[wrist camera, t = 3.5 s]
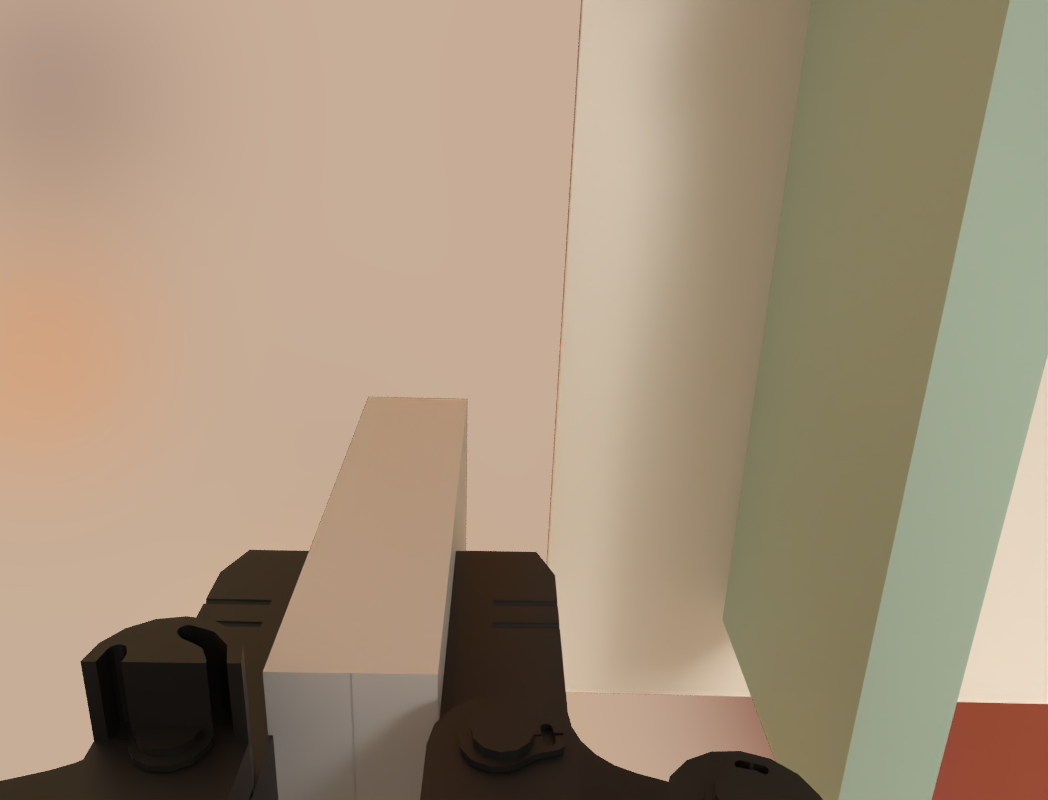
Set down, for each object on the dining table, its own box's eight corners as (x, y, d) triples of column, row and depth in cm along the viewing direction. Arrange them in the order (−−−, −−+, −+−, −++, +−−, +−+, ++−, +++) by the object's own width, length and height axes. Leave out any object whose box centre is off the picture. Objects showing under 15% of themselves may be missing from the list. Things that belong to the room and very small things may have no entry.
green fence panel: (902, -70, 14) (1179, -146, 8) (784, 621, 18) (909, 884, 12) (821, -74, 14) (1042, -153, 8) (722, 620, 18) (820, 883, 12)
